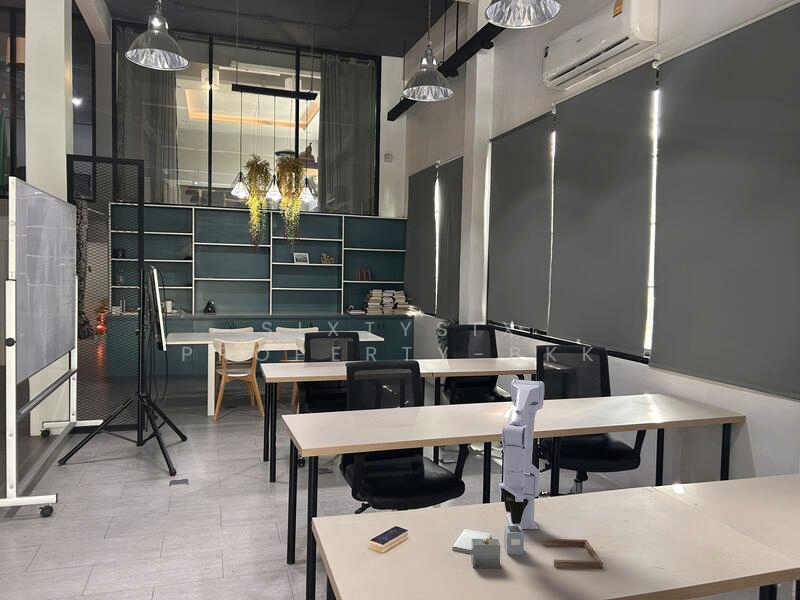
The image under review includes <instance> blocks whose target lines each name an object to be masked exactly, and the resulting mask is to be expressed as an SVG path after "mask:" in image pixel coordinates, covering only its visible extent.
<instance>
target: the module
mask: <svg viewBox="0 0 800 600" xmlns="http://www.w3.org/2000/svg"><path fill="white" fill-rule="evenodd" d="M503 529H504V531H503V534H504V535H503V548H504V550H505V553H506V555H524V547H525V545H524V543H525V541H524V540H525V539H524V538H525V532H524V529H522V528H521V526H510V525H504V528H503Z"/></svg>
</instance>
